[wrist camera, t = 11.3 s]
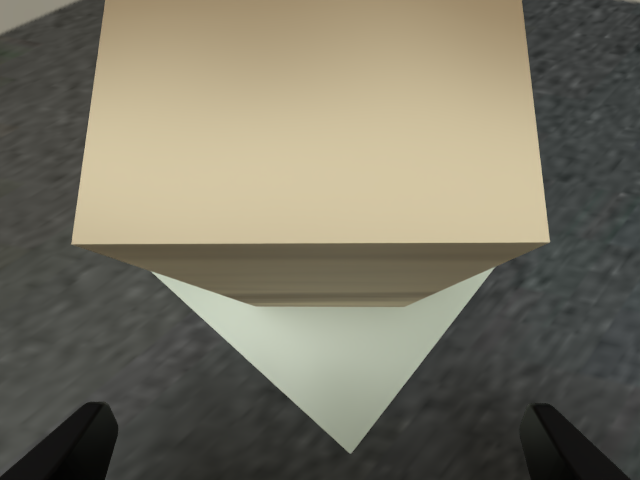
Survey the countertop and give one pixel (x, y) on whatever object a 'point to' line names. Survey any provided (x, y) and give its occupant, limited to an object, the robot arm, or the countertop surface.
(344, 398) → the sage mat
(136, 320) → the countertop surface
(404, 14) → the birch block
